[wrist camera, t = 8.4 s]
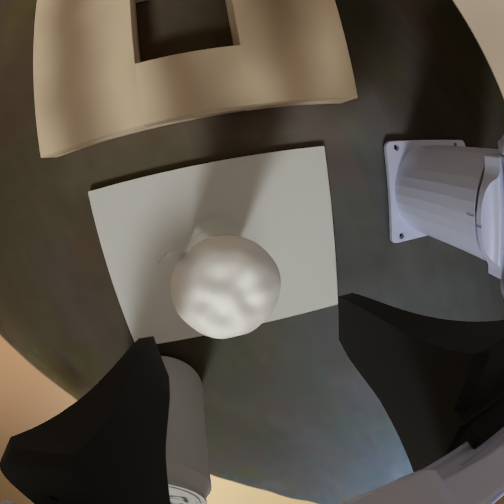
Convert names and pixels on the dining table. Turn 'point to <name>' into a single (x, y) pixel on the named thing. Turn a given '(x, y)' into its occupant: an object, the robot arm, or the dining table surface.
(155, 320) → the grey mat
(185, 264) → the milkshake
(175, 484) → the beverage can
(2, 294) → the dining table surface
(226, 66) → the pocket holder
